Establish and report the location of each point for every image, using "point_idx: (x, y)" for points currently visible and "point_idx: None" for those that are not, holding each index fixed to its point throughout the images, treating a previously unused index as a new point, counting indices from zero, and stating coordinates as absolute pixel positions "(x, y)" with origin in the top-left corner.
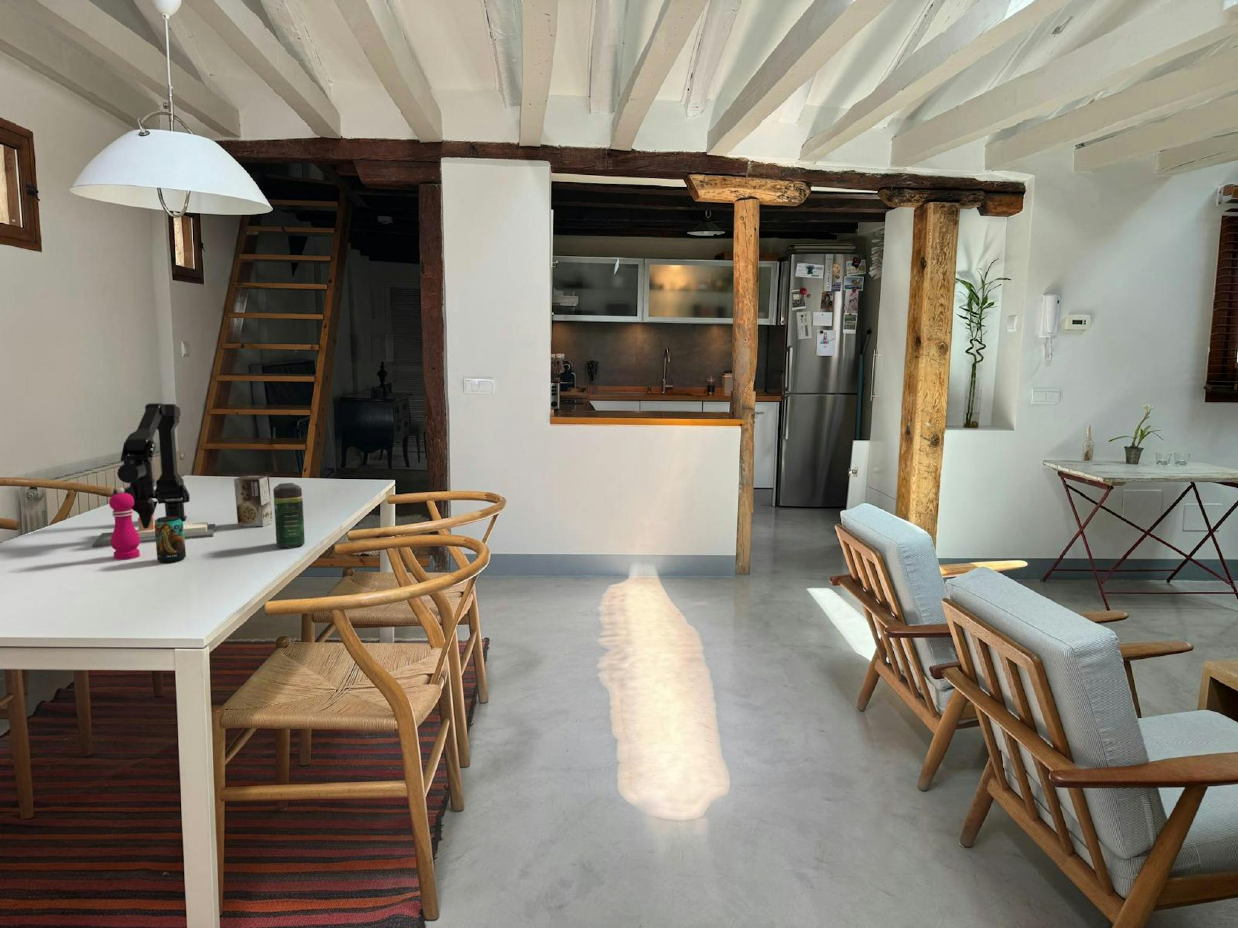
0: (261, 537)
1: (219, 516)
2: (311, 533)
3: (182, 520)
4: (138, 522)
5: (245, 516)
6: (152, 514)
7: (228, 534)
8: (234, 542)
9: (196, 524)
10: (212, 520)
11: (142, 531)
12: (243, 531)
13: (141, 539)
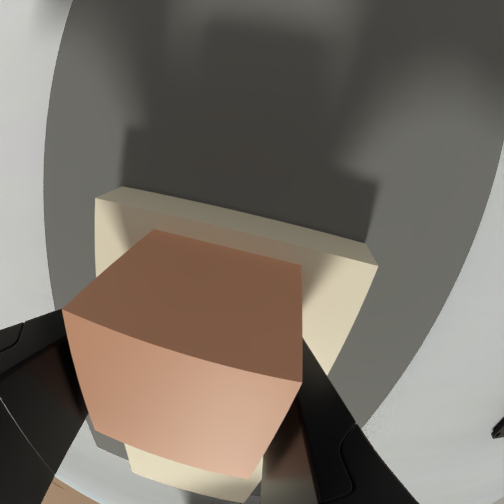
0: (70, 463)
1: (442, 488)
2: (90, 493)
3: (496, 428)
4: (100, 279)
5: None
6: (262, 477)
7: (121, 464)
8: None
9: (211, 483)
10: (405, 486)
11: (118, 255)
12: (150, 487)
13: (63, 215)
